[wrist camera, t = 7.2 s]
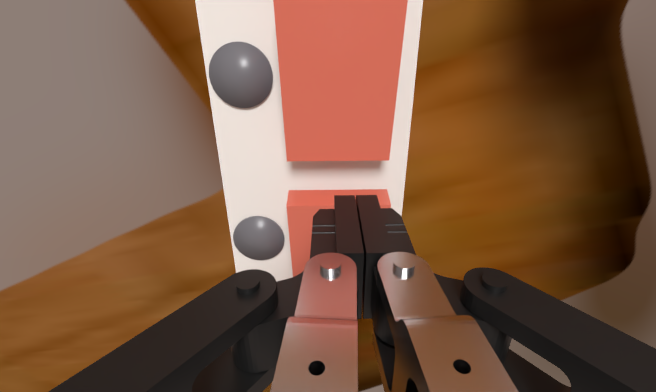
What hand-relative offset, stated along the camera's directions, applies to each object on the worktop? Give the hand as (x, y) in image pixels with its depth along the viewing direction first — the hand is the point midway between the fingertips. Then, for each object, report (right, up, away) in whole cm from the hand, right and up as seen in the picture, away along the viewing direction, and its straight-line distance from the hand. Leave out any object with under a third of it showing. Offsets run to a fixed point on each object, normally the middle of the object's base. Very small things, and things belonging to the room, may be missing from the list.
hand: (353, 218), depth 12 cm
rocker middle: (0, +7, +6) cm, 9 cm away
